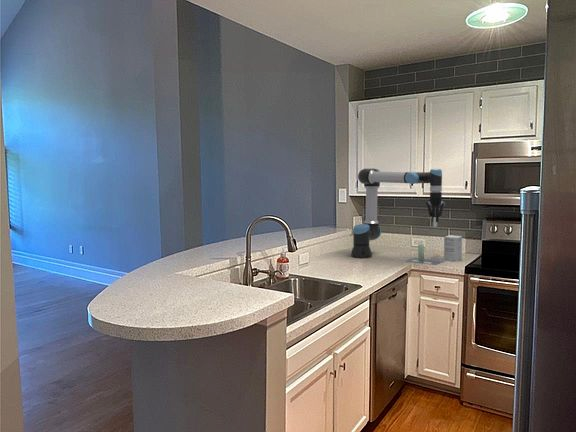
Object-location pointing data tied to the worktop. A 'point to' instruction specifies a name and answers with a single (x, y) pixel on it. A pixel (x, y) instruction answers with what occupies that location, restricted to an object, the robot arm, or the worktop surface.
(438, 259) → the button panel board
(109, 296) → the worktop surface
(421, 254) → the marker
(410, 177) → the robot arm
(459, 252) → the supplement box
